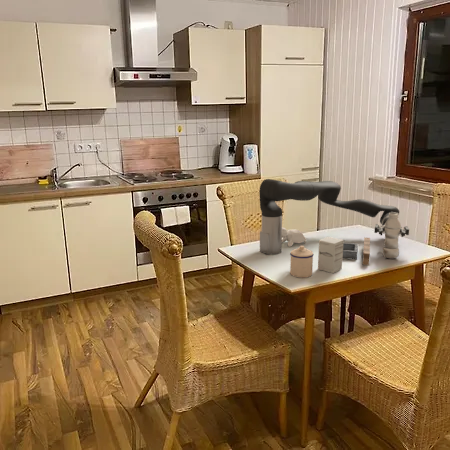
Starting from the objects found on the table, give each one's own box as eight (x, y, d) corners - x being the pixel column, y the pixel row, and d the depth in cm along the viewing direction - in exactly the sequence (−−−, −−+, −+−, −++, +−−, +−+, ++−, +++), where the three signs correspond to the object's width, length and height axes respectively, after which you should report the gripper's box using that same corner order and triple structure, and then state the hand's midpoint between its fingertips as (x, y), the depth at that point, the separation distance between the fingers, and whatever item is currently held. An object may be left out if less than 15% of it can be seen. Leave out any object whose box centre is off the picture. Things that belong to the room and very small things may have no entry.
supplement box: (317, 269, 184) (318, 239, 181) (326, 264, 189) (328, 236, 186) (333, 273, 179) (334, 243, 176) (342, 269, 184) (344, 239, 181)
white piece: (295, 246, 225) (270, 238, 219) (301, 230, 224) (276, 222, 218) (303, 251, 217) (277, 243, 212) (310, 234, 216) (284, 226, 211)
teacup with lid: (317, 276, 177) (318, 247, 174) (297, 279, 174) (298, 251, 171) (300, 266, 188) (301, 239, 185) (281, 269, 184) (282, 242, 181)
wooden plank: (368, 265, 188) (369, 253, 187) (362, 264, 189) (363, 253, 188) (369, 248, 210) (369, 237, 209) (363, 247, 211) (364, 237, 210)
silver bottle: (399, 260, 193) (403, 215, 188) (382, 259, 194) (386, 214, 189) (397, 255, 199) (400, 211, 194) (381, 255, 200) (384, 211, 195)
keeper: (356, 259, 195) (357, 251, 194) (327, 257, 199) (327, 249, 198) (357, 250, 206) (358, 243, 205) (329, 248, 210) (330, 241, 209)
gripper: (375, 215, 209) (375, 224, 194) (407, 217, 205) (410, 226, 190) (373, 231, 211) (374, 241, 196) (406, 233, 207) (409, 243, 192)
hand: (392, 233), depth 193 cm, fingers open, 8 cm apart
